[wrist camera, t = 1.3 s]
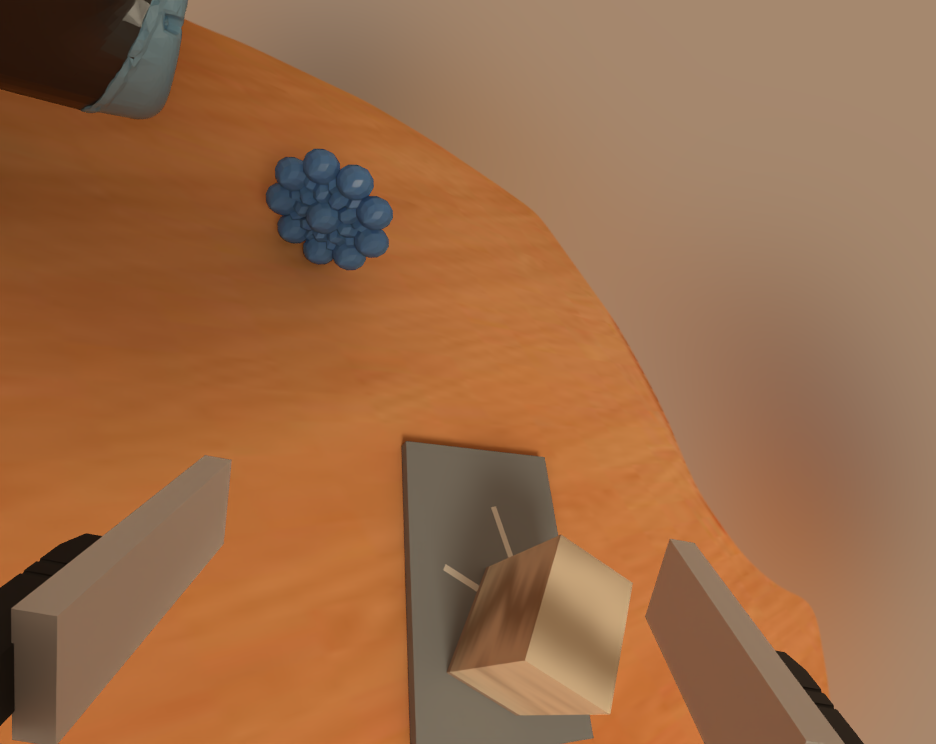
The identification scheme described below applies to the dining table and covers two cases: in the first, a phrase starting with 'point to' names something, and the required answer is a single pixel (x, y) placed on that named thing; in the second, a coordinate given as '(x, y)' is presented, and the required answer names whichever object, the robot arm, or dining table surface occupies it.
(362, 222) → the grapes
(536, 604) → the block
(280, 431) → the dining table surface
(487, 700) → the board
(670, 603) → the robot arm
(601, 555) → the dining table surface
